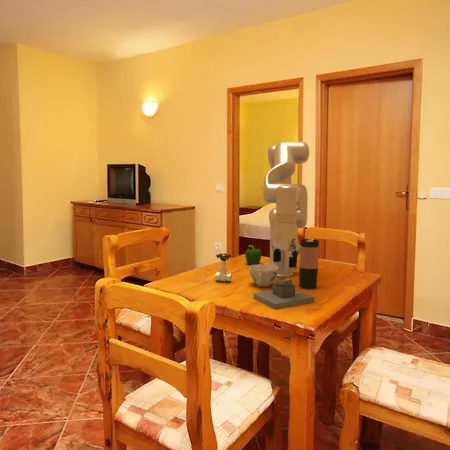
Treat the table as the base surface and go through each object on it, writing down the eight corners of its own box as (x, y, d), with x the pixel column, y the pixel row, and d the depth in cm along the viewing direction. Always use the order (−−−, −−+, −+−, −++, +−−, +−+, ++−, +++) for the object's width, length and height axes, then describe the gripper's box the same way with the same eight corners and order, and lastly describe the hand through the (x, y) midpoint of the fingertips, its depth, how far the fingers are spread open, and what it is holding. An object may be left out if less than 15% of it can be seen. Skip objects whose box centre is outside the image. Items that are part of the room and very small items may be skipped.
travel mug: (306, 290, 168) (308, 242, 165) (294, 285, 175) (296, 239, 172) (321, 288, 171) (323, 240, 169) (309, 283, 178) (311, 238, 176)
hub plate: (291, 292, 165) (291, 278, 164) (314, 302, 153) (315, 287, 152) (253, 298, 157) (253, 284, 156) (274, 309, 144) (275, 294, 144)
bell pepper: (264, 264, 215) (264, 245, 213) (255, 266, 208) (256, 247, 207) (251, 261, 220) (251, 243, 219) (242, 264, 213) (242, 245, 212)
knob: (281, 298, 150) (281, 283, 149) (271, 293, 156) (271, 279, 155) (296, 295, 153) (296, 281, 153) (285, 291, 159) (285, 276, 158)
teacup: (252, 280, 183) (252, 262, 182) (280, 282, 180) (281, 264, 178) (244, 289, 169) (244, 270, 168) (274, 292, 165) (274, 272, 164)
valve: (229, 284, 176) (229, 256, 174) (214, 283, 177) (214, 255, 176) (232, 280, 182) (232, 253, 181) (217, 279, 184) (218, 253, 182)
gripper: (264, 216, 157) (263, 260, 159) (292, 222, 142) (290, 270, 144) (280, 215, 160) (279, 258, 163) (309, 221, 145) (307, 268, 148)
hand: (284, 264), depth 153 cm, fingers open, 9 cm apart
